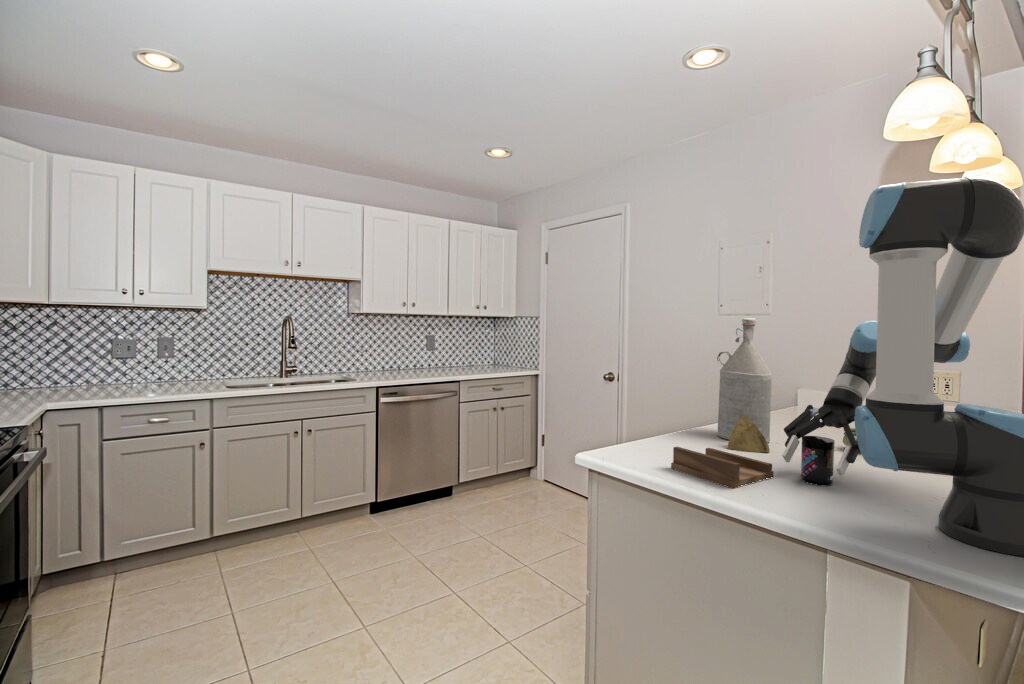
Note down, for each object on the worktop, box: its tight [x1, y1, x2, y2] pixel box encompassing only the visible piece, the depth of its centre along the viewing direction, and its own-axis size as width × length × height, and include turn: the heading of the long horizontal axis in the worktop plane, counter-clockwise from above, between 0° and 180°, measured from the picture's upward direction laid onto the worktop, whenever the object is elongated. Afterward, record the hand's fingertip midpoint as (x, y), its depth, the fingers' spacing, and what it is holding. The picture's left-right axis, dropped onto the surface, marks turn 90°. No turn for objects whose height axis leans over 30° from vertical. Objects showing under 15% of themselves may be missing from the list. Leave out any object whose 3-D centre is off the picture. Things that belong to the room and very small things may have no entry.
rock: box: [726, 416, 771, 453], centre depth 148 cm, size 11×9×10 cm
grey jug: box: [716, 317, 773, 444], centre depth 162 cm, size 13×17×40 cm
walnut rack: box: [670, 446, 775, 489], centre depth 126 cm, size 16×18×6 cm
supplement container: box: [800, 435, 836, 486], centre depth 120 cm, size 7×7×10 cm
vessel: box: [842, 427, 862, 456], centre depth 148 cm, size 12×9×6 cm
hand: (811, 465), depth 118 cm, fingers open, 12 cm apart
